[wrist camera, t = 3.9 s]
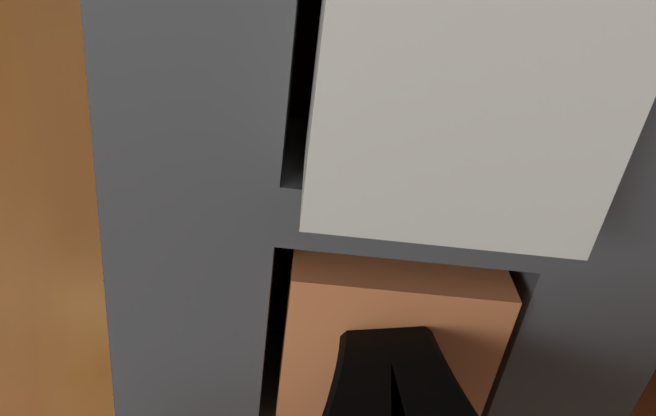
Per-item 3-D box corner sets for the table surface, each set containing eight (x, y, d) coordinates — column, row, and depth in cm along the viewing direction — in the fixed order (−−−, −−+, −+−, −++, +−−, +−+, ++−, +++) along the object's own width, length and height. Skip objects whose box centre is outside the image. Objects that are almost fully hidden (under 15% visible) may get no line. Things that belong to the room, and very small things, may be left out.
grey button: (528, 167, 9) (587, 260, 7) (305, 143, 9) (299, 231, 7) (609, -78, 7) (715, -48, 5) (334, -116, 7) (337, -100, 5)
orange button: (444, 354, 13) (467, 452, 11) (282, 340, 13) (273, 437, 10) (485, 217, 11) (521, 303, 9) (298, 197, 11) (291, 281, 9)
